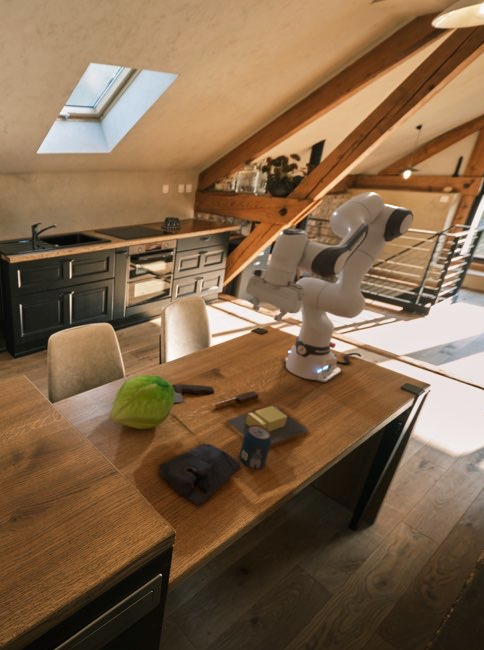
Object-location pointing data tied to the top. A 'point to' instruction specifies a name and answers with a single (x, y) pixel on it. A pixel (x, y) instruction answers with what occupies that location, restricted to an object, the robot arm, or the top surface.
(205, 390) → the cleaver
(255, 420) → the butter slice
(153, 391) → the lettuce
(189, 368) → the top surface
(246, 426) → the butter board
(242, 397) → the knife
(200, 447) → the folded black cloth
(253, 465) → the soda can
